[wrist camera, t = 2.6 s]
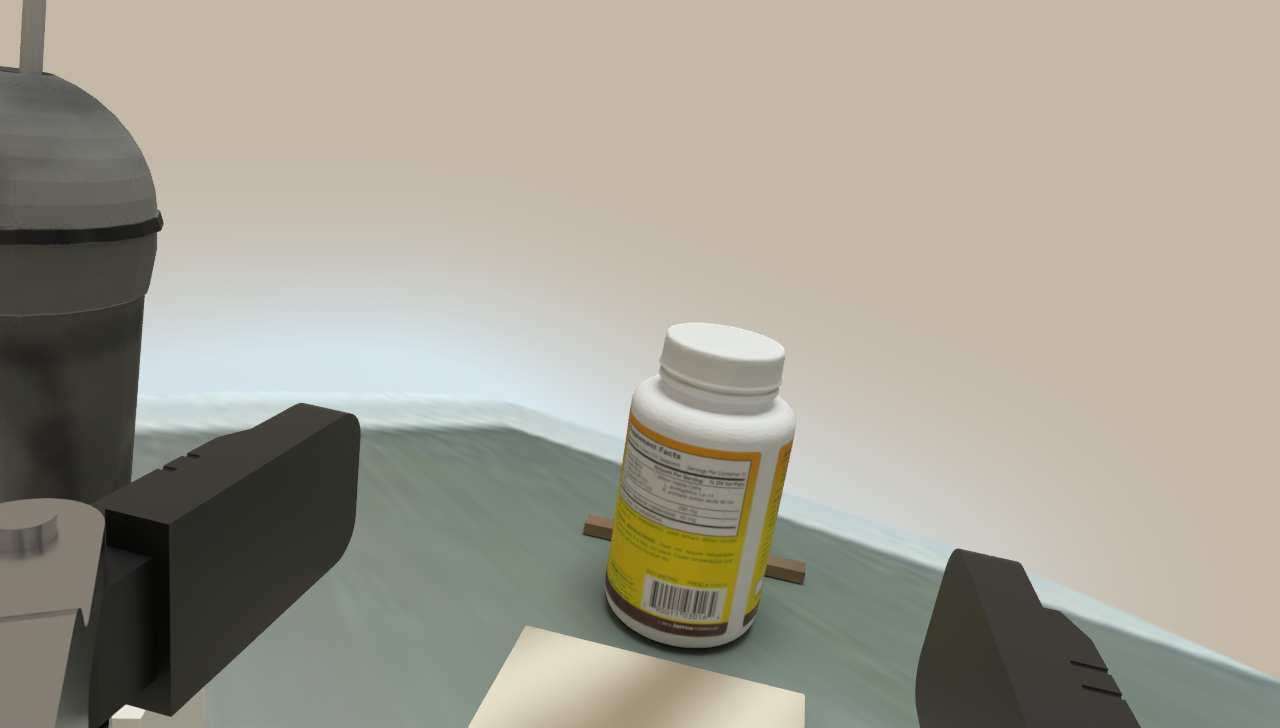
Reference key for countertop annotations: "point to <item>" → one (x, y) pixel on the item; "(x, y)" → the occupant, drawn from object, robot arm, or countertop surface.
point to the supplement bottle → (700, 487)
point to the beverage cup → (68, 282)
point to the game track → (628, 683)
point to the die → (185, 724)
